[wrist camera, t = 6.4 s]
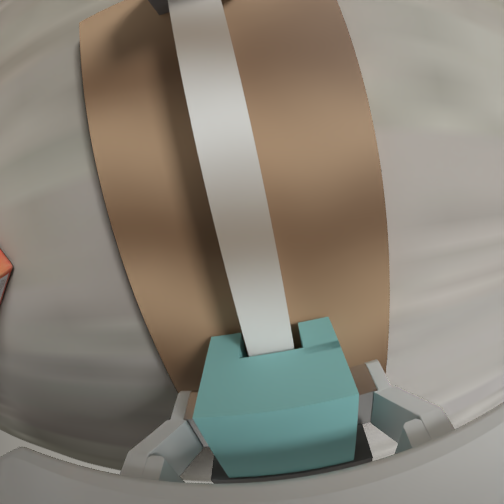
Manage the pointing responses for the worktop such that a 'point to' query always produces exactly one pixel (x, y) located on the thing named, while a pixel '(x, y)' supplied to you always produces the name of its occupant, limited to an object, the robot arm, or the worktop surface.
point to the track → (293, 162)
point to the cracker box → (4, 272)
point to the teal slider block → (278, 404)
